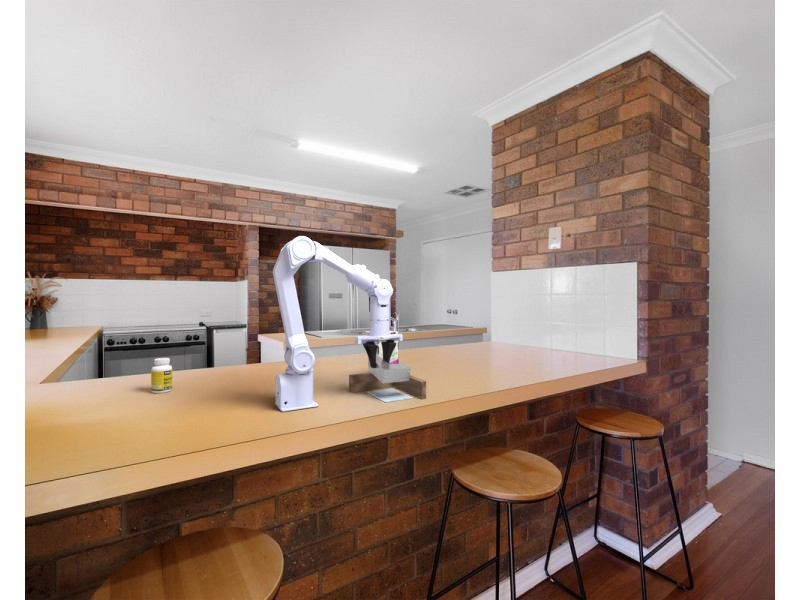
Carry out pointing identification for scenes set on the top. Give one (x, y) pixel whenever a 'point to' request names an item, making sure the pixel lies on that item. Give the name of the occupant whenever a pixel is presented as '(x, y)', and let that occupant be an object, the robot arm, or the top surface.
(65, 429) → the top surface
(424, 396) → the corner fence
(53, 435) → the top surface
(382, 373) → the grey speckled block
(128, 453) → the top surface
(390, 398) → the pad
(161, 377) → the supplement bottle
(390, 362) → the candy bar box
